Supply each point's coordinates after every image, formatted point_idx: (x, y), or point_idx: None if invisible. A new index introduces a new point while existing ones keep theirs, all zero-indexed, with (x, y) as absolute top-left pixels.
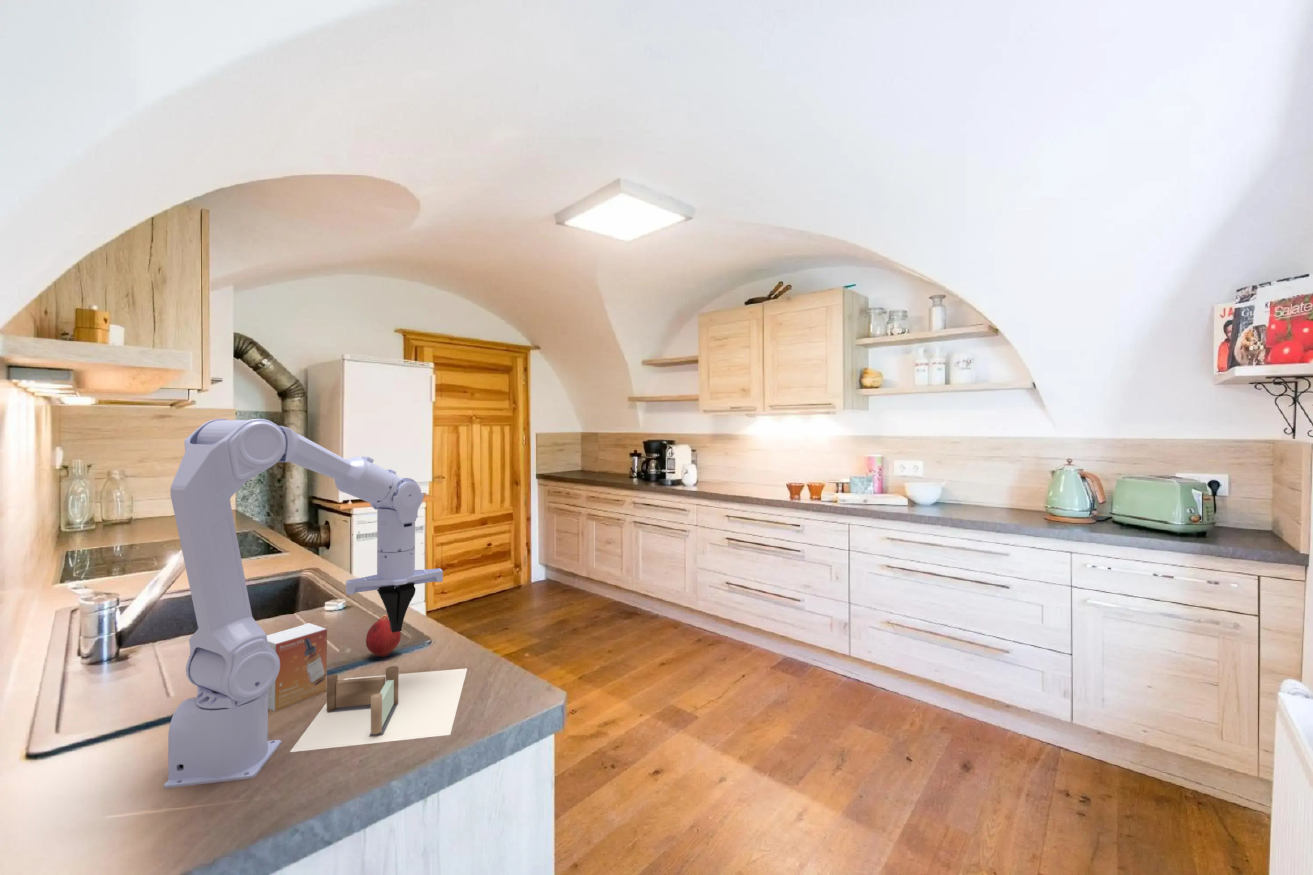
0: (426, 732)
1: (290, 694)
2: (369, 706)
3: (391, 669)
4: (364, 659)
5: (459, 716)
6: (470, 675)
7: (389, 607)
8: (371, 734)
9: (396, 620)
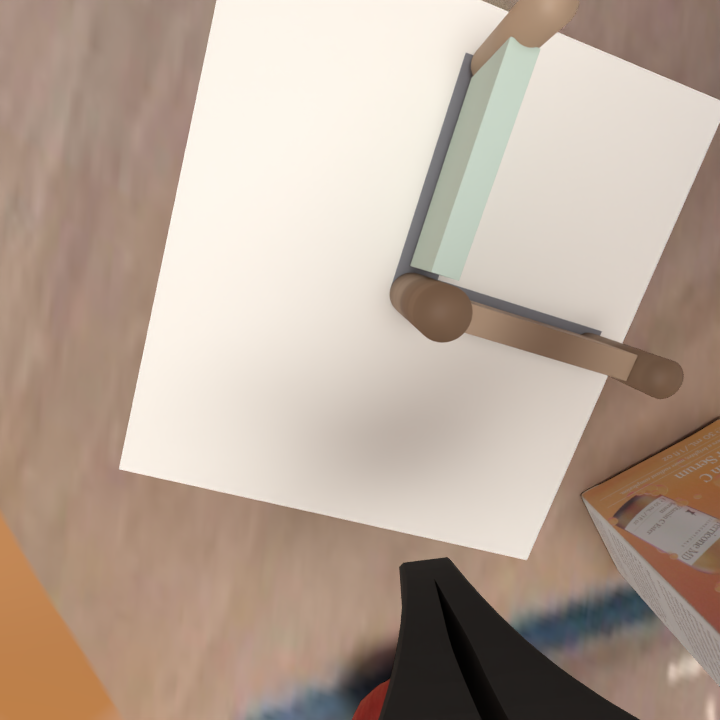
0: None
1: (710, 454)
2: None
3: (447, 305)
4: None
5: (188, 70)
6: (114, 414)
7: (556, 681)
8: None
9: (452, 602)
